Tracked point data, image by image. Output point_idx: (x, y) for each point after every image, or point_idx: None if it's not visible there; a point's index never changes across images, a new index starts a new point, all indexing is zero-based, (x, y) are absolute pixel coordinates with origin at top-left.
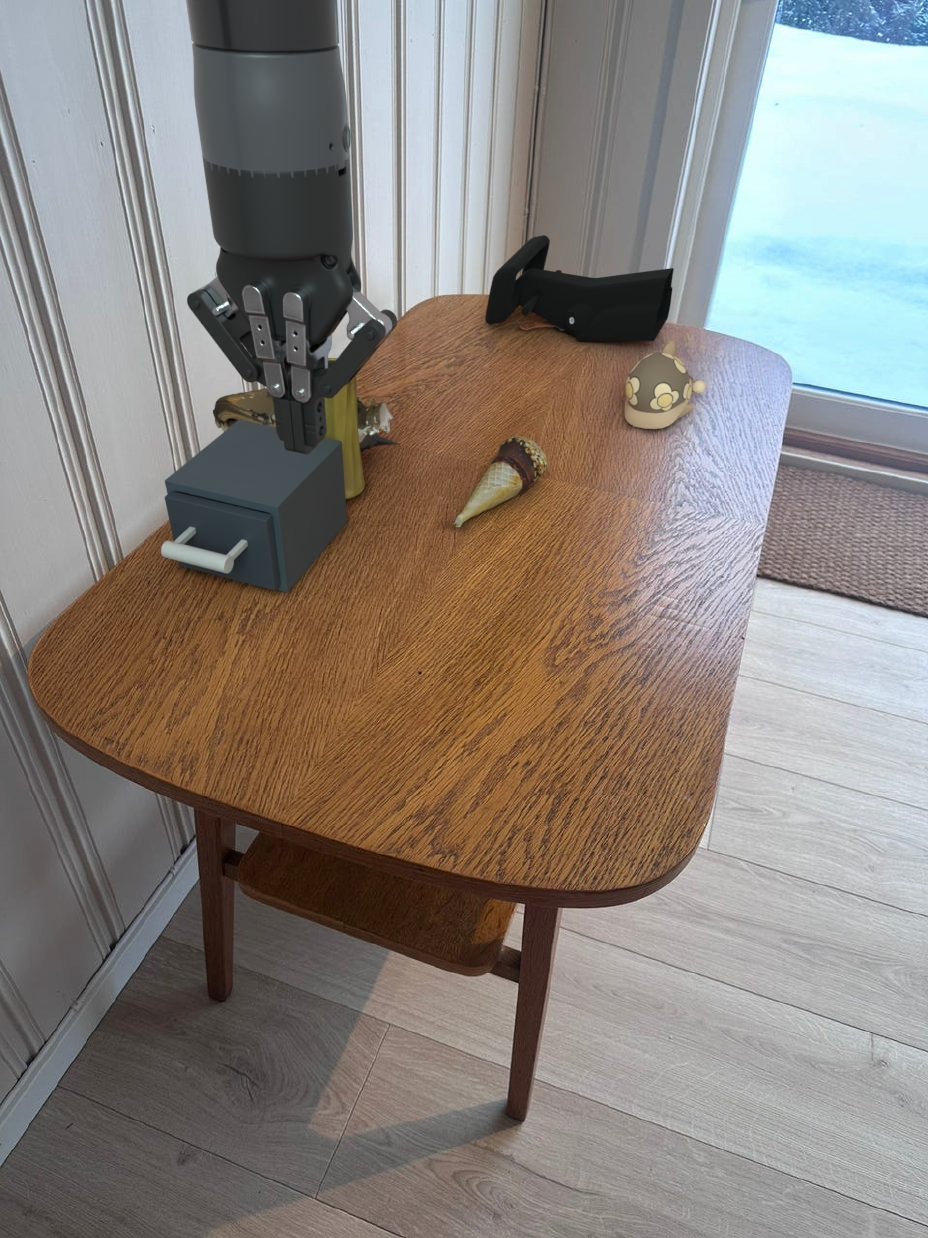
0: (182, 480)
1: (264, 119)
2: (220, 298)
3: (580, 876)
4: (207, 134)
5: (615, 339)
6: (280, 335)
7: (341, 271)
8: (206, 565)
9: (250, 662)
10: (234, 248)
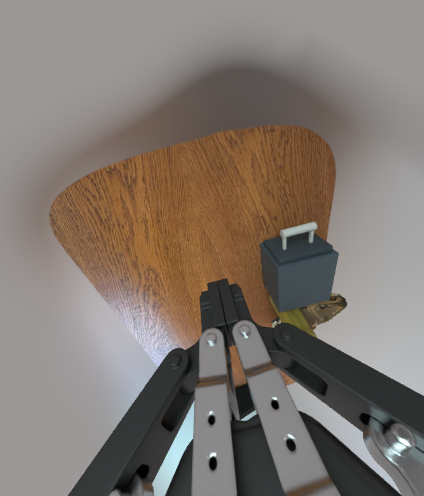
0: (330, 257)
1: None
2: (416, 468)
3: (65, 193)
4: None
5: (236, 389)
6: (254, 430)
7: None
8: (290, 228)
9: (248, 205)
10: None
